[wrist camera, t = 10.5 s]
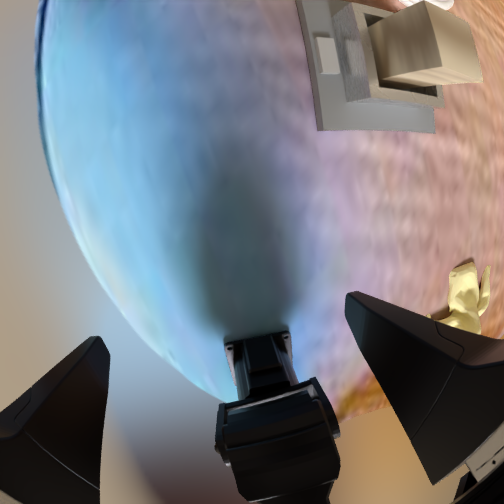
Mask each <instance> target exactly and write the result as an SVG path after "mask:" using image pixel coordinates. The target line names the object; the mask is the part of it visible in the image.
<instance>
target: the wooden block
mask: <svg viewBox="0 0 504 504" xmlns="http://www.w3.org/2000/svg"><path fill="white" fill-rule="evenodd" d="M368 32H369V36H370V41H371V45H372V50H373V55H374V60H375V65H376V71H377V77H378V83H379V86H381V87H389V88H396V89H410V88H417V87H425V86H434V85H445V84H458V83H484V82H483V77H482V72H481V67H480V62H479V58H478V54H477V50H476V46H475V42H474V39H473V35H472V32H471V29H470V25H469V23H468V22H467V21H465V20H463V19H461V18H459V17H458V16H456V15H454V14H452V13H450V12H448V11H446V10H444V9H442V8H440V7H438V6H436V5H434V4H432V3H430V2H427V1H425V0H422V1H420V2H418V3H416V4H413V5H411V6H409V7H407V8H405V9H402V10H400V11H398V12H396V13H394V14H392V15H390V16H388V17H386V18H384V19H382V20H381V21H379V22H377V23H375V24H373V25H371V26H369V27H368Z"/></svg>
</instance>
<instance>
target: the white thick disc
mask: <svg viewBox="0 0 504 504" xmlns="http://www.w3.org/2000/svg"><path fill="white" fill-rule="evenodd" d="M398 1H400V2H401V3H402V4H404V5H405V6H407V7H409V6H411V5H413V4H416V3H418V2H420V1H422V0H398ZM425 1H427V2H430V3H432V4H434V5H436V6H438V7H440V8H442V9H444V10H448V9H450V8H451V7H452V6H453V3H454V0H425Z"/></svg>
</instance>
